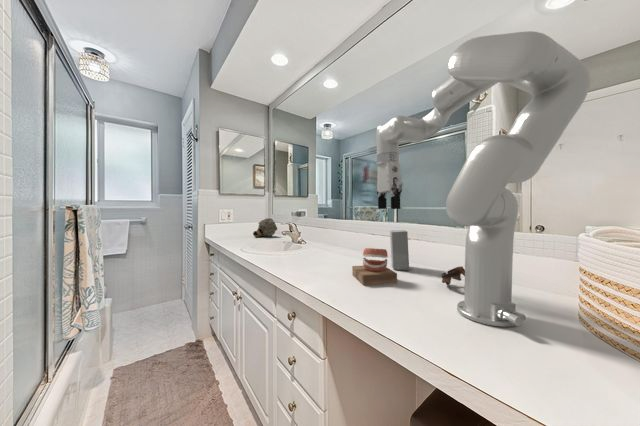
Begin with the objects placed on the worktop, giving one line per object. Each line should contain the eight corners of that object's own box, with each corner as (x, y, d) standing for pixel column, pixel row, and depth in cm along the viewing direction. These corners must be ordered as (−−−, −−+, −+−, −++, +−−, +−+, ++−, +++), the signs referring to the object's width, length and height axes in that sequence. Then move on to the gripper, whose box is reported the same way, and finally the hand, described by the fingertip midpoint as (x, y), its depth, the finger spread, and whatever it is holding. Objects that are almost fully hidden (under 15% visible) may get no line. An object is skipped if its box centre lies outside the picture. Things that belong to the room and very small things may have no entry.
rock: (274, 215, 205) (259, 212, 194) (280, 229, 198) (265, 227, 186) (262, 229, 213) (247, 227, 202) (268, 242, 206) (252, 241, 194)
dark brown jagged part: (468, 299, 72) (453, 272, 74) (445, 302, 80) (431, 278, 82) (493, 283, 76) (477, 258, 79) (469, 287, 85) (455, 265, 87)
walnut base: (396, 285, 85) (397, 273, 85) (363, 287, 83) (363, 275, 83) (382, 274, 97) (382, 264, 96) (352, 276, 95) (352, 266, 94)
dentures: (361, 271, 87) (361, 248, 87) (363, 266, 94) (363, 245, 93) (387, 273, 85) (387, 250, 84) (387, 267, 92) (387, 246, 91)
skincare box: (409, 271, 99) (409, 231, 99) (391, 270, 101) (391, 231, 100) (406, 265, 108) (406, 229, 107) (389, 265, 109) (389, 229, 108)
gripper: (411, 155, 80) (412, 208, 80) (386, 164, 97) (386, 208, 97) (389, 154, 79) (390, 209, 79) (368, 164, 95) (368, 209, 96)
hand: (388, 208), depth 88 cm, fingers open, 9 cm apart
